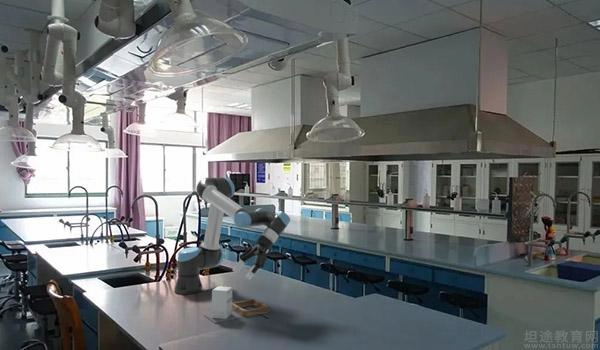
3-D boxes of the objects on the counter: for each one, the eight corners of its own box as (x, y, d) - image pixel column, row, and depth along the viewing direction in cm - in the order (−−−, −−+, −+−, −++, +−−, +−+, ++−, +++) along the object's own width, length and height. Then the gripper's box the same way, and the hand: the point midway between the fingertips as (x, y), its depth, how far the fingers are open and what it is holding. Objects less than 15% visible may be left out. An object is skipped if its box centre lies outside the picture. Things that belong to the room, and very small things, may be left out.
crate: (230, 308, 199) (230, 303, 199) (254, 304, 206) (254, 298, 206) (244, 317, 186) (244, 311, 186) (269, 312, 194) (269, 306, 194)
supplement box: (226, 319, 182) (226, 290, 182) (211, 318, 184) (211, 289, 184) (232, 314, 189) (232, 286, 190) (217, 312, 191) (217, 285, 191)
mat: (204, 315, 188) (204, 315, 188) (228, 311, 195) (228, 310, 195) (215, 323, 178) (215, 322, 178) (239, 318, 185) (240, 317, 185)
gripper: (286, 247, 192) (258, 285, 184) (259, 240, 213) (234, 274, 204) (276, 238, 189) (247, 276, 181) (250, 231, 209) (224, 265, 201)
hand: (240, 275), depth 193 cm, fingers open, 13 cm apart
